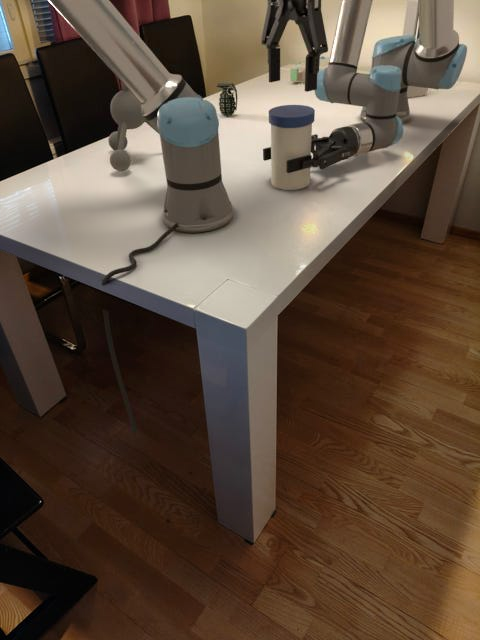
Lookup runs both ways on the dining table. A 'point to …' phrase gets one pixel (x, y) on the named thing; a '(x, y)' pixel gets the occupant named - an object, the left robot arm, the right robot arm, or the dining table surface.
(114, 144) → the molecular model
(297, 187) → the jar
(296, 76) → the decorative block
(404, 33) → the electronic device
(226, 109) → the grenade
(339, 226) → the dining table surface
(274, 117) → the lid
